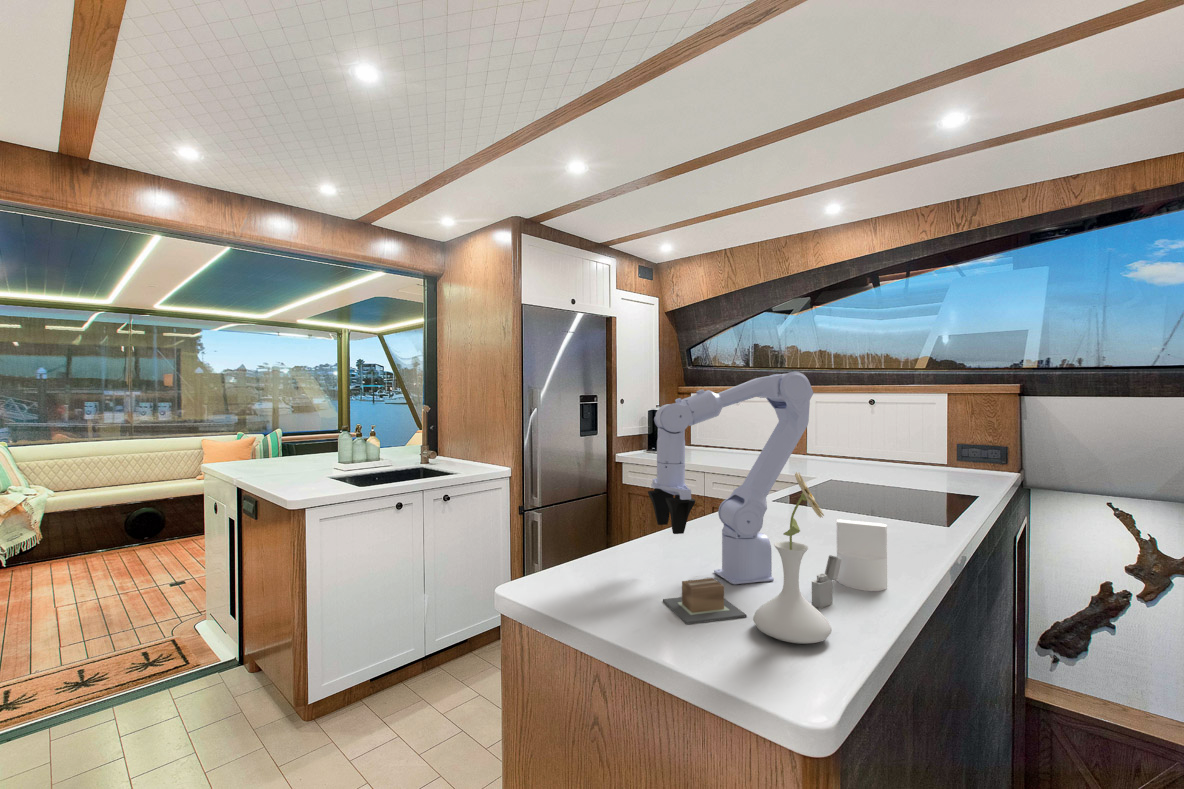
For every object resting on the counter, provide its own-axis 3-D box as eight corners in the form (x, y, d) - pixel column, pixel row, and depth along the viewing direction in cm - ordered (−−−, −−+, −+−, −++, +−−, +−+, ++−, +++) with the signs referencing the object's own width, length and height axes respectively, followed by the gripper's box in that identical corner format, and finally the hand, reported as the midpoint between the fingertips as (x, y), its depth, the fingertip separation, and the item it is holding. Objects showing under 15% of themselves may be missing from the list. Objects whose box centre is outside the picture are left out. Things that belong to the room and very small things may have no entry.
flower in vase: (818, 660, 72) (817, 481, 73) (741, 636, 80) (740, 474, 80) (843, 629, 82) (843, 472, 83) (773, 610, 90) (772, 466, 90)
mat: (717, 595, 96) (717, 593, 96) (746, 617, 87) (746, 614, 87) (662, 601, 94) (662, 598, 94) (686, 624, 84) (686, 621, 84)
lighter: (820, 608, 90) (820, 563, 91) (811, 605, 92) (811, 560, 92) (841, 599, 95) (841, 556, 95) (832, 596, 96) (832, 553, 96)
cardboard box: (682, 603, 91) (682, 580, 91) (712, 600, 93) (712, 577, 93) (692, 612, 87) (692, 588, 87) (723, 608, 89) (723, 585, 89)
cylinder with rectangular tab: (835, 586, 102) (835, 525, 102) (837, 572, 110) (837, 516, 110) (888, 594, 97) (887, 530, 98) (886, 579, 105) (886, 520, 106)
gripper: (639, 458, 112) (639, 521, 111) (667, 467, 98) (666, 539, 97) (669, 458, 114) (669, 520, 113) (701, 466, 100) (700, 536, 99)
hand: (670, 528), depth 106 cm, fingers open, 7 cm apart
